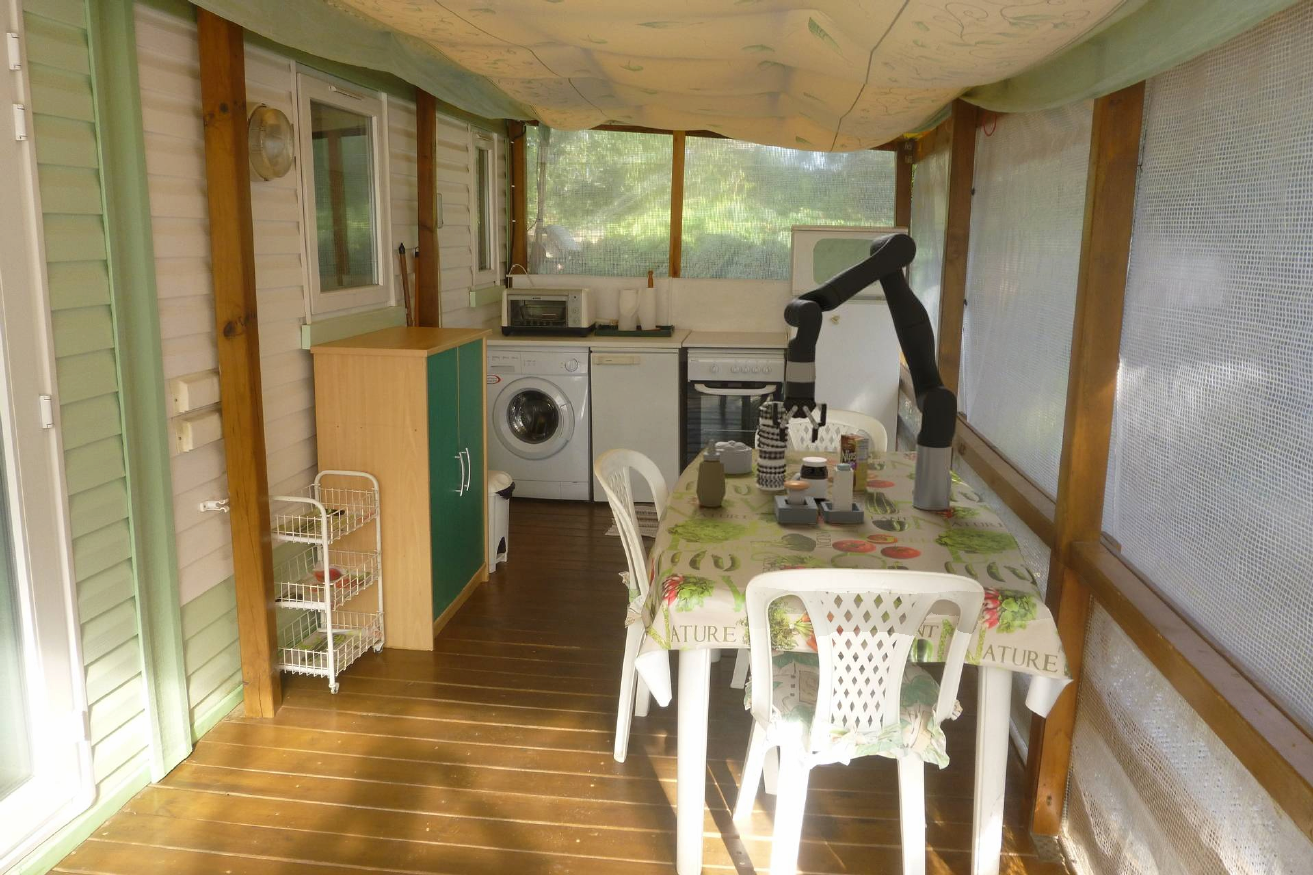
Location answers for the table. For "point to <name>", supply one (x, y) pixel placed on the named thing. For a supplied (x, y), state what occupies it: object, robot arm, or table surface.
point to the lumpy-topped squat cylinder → (735, 457)
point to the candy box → (855, 458)
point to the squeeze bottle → (711, 478)
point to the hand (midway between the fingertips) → (798, 442)
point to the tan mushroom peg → (796, 492)
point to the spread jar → (814, 477)
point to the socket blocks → (815, 512)
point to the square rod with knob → (842, 487)
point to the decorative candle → (770, 451)
